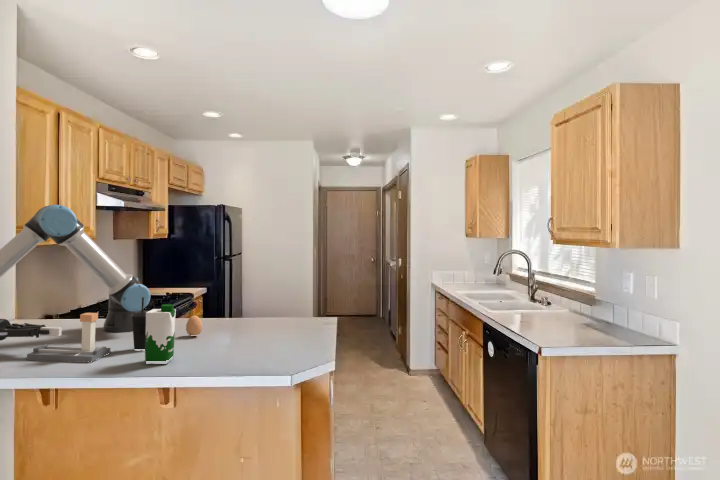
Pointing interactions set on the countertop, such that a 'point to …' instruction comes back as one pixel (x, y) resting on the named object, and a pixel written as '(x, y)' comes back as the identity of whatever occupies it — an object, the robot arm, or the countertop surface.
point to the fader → (88, 331)
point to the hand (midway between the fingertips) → (60, 331)
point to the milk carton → (160, 333)
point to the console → (66, 353)
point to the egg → (194, 325)
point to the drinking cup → (139, 327)
